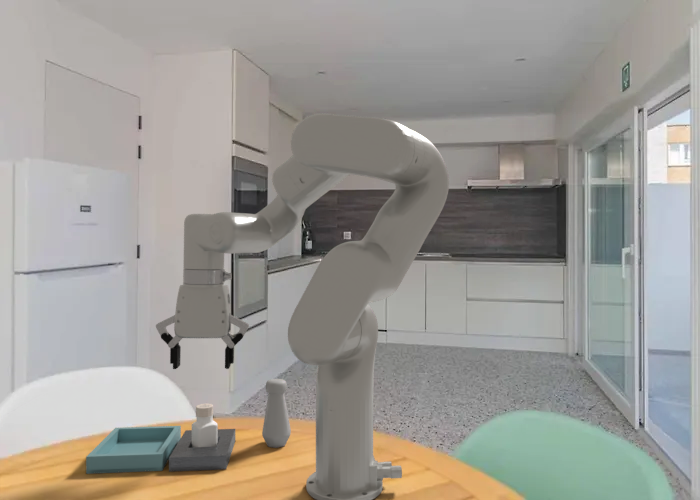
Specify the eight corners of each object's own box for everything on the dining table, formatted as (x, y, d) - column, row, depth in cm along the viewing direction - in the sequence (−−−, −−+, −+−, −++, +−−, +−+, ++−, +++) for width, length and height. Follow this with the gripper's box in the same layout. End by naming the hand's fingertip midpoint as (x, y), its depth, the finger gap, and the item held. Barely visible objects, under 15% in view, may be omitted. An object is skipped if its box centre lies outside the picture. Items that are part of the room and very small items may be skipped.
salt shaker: (293, 439, 110) (293, 376, 110) (287, 449, 104) (287, 384, 104) (266, 438, 111) (265, 376, 111) (258, 448, 105) (258, 383, 105)
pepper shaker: (199, 461, 99) (199, 410, 99) (190, 454, 102) (190, 405, 102) (218, 455, 101) (218, 406, 101) (209, 449, 105) (209, 401, 104)
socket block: (235, 440, 109) (235, 428, 109) (226, 469, 95) (226, 455, 95) (185, 442, 108) (185, 430, 108) (169, 471, 94) (169, 457, 94)
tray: (180, 440, 110) (180, 425, 110) (162, 470, 95) (162, 454, 95) (115, 442, 108) (115, 427, 108) (86, 473, 93) (86, 456, 93)
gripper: (251, 277, 106) (249, 362, 106) (162, 276, 104) (161, 363, 105) (247, 280, 99) (246, 372, 99) (151, 279, 97) (150, 372, 97)
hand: (202, 367), depth 102 cm, fingers open, 9 cm apart
